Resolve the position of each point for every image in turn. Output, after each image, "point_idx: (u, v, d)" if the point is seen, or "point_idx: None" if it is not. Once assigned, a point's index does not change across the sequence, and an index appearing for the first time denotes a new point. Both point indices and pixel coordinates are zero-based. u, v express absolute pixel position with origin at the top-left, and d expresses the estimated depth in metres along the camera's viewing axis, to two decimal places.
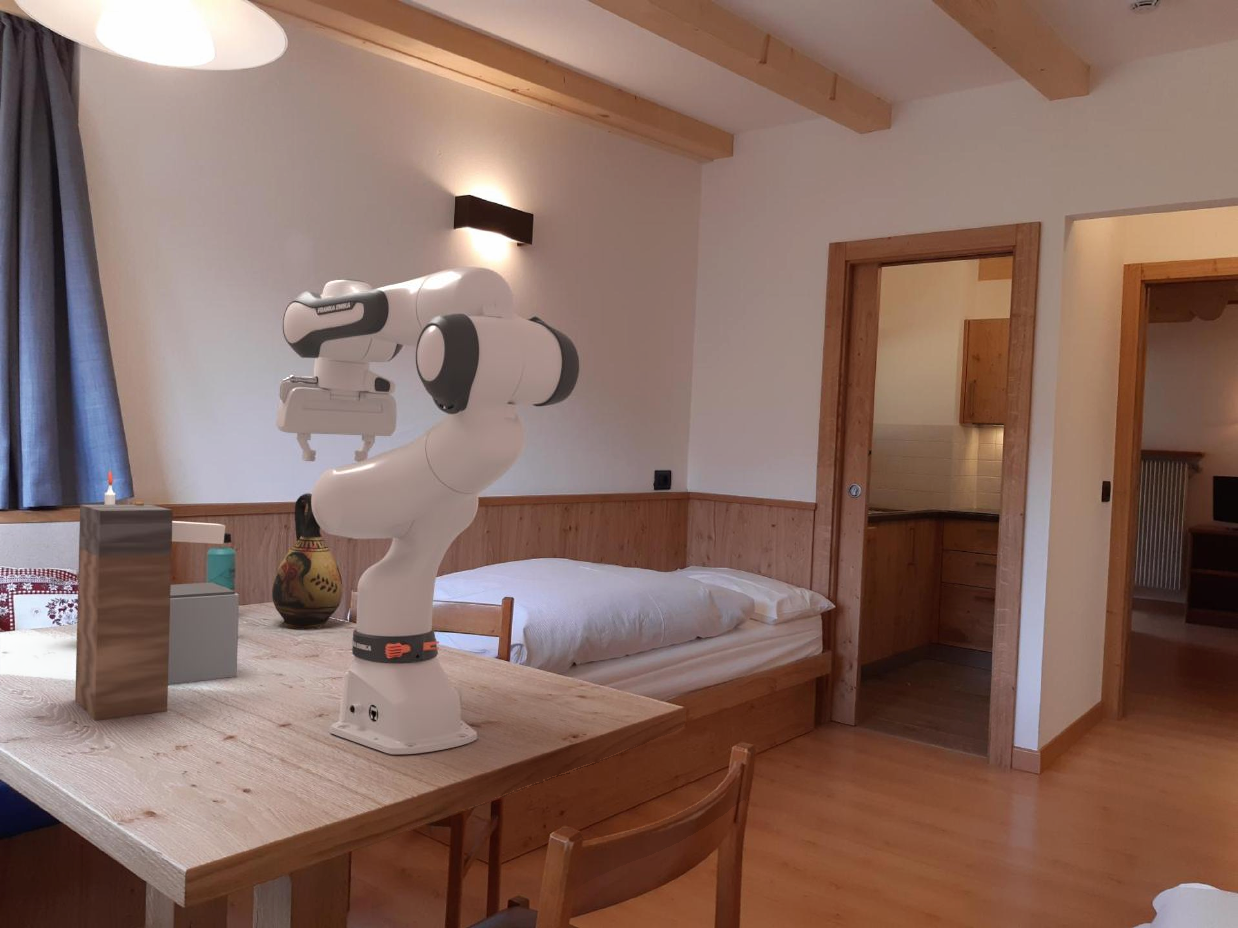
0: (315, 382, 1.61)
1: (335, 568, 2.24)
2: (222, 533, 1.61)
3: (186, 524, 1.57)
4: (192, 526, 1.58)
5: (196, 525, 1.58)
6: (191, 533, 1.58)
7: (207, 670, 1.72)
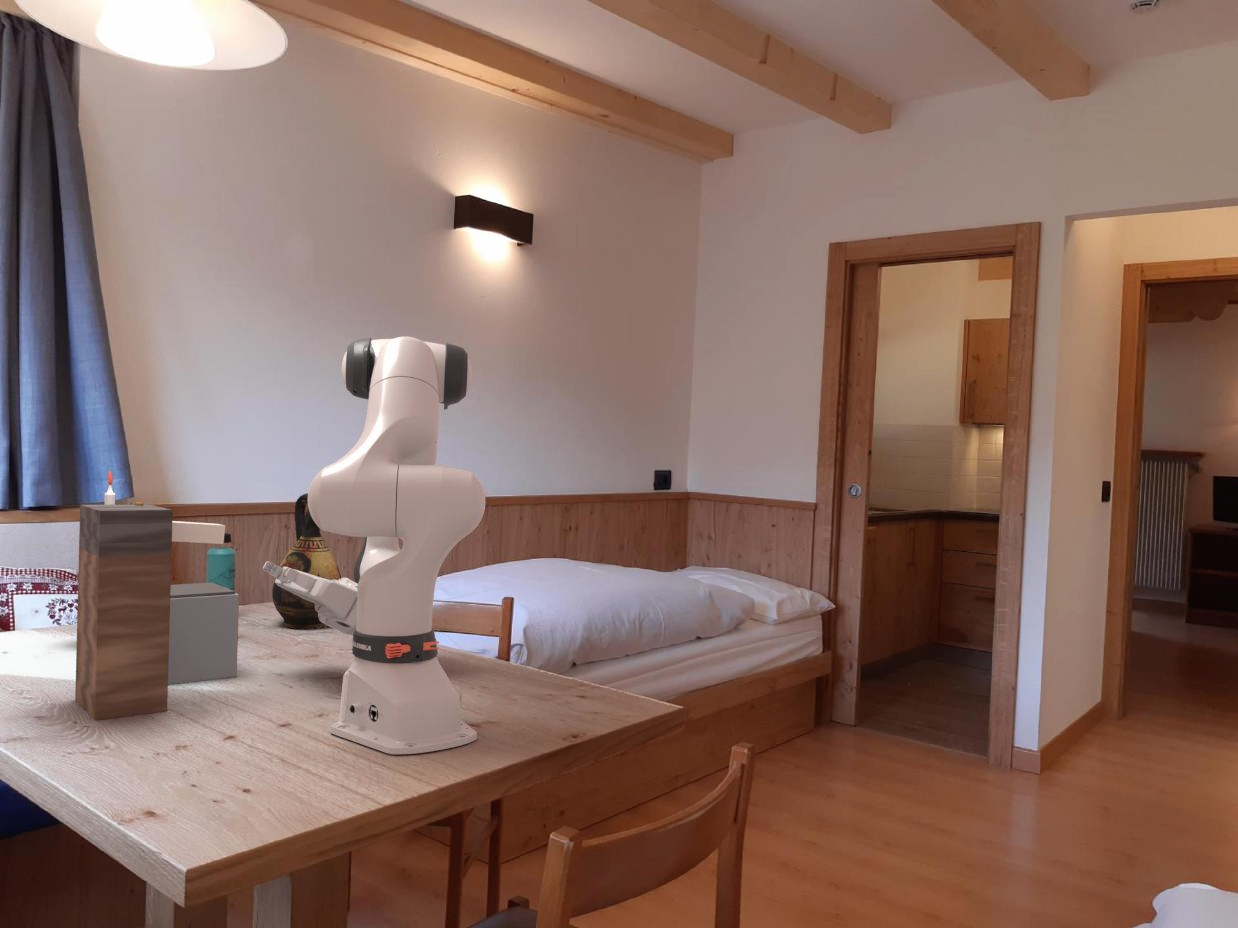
0: None
1: (335, 568, 2.24)
2: (222, 533, 1.61)
3: (186, 524, 1.57)
4: (192, 526, 1.58)
5: (196, 525, 1.58)
6: (191, 533, 1.58)
7: (207, 670, 1.72)
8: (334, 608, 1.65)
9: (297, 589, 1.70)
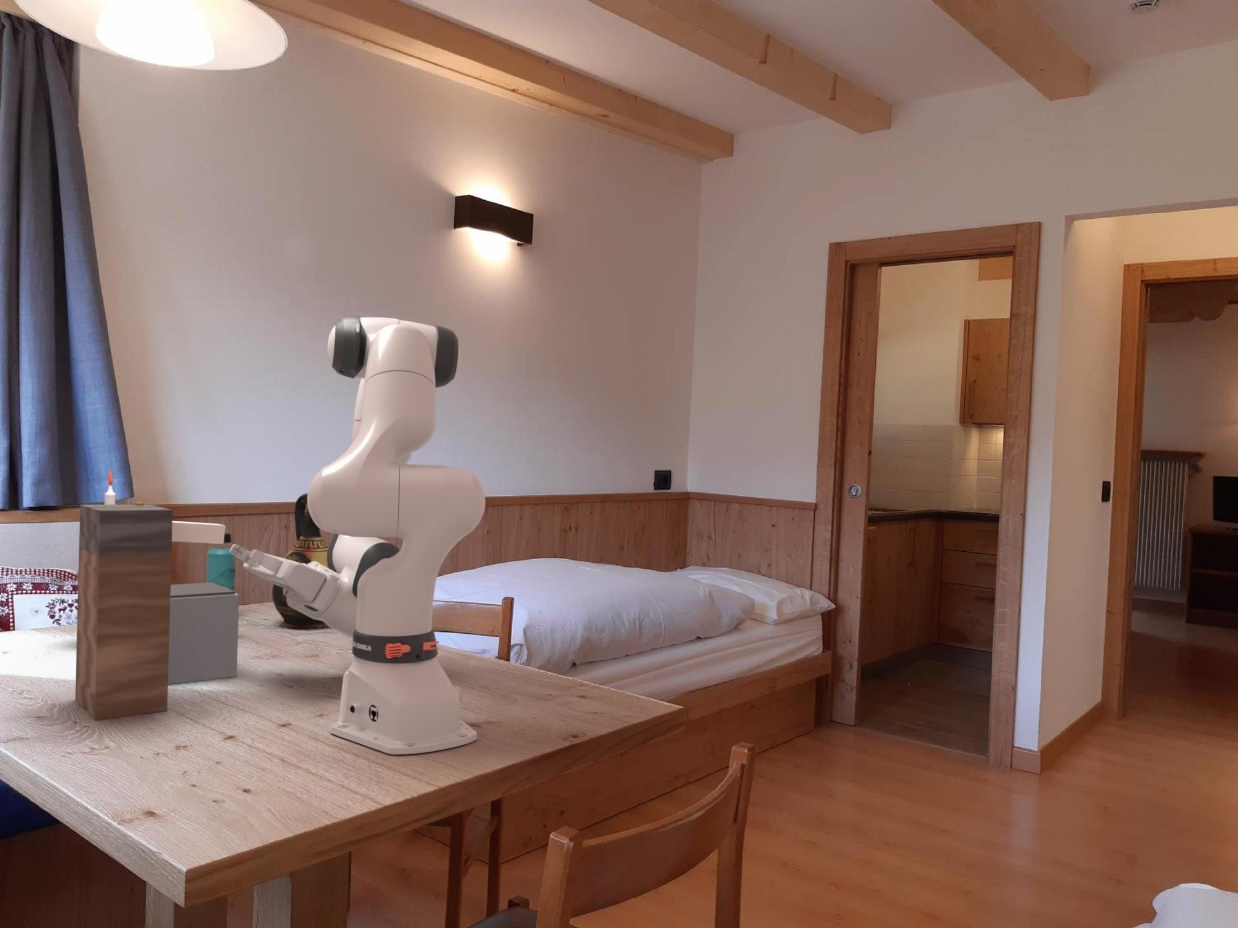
0: None
1: None
2: (222, 533, 1.61)
3: (186, 524, 1.57)
4: (192, 526, 1.58)
5: (196, 525, 1.58)
6: (191, 533, 1.58)
7: (207, 670, 1.72)
8: (300, 591, 1.61)
9: (264, 572, 1.66)
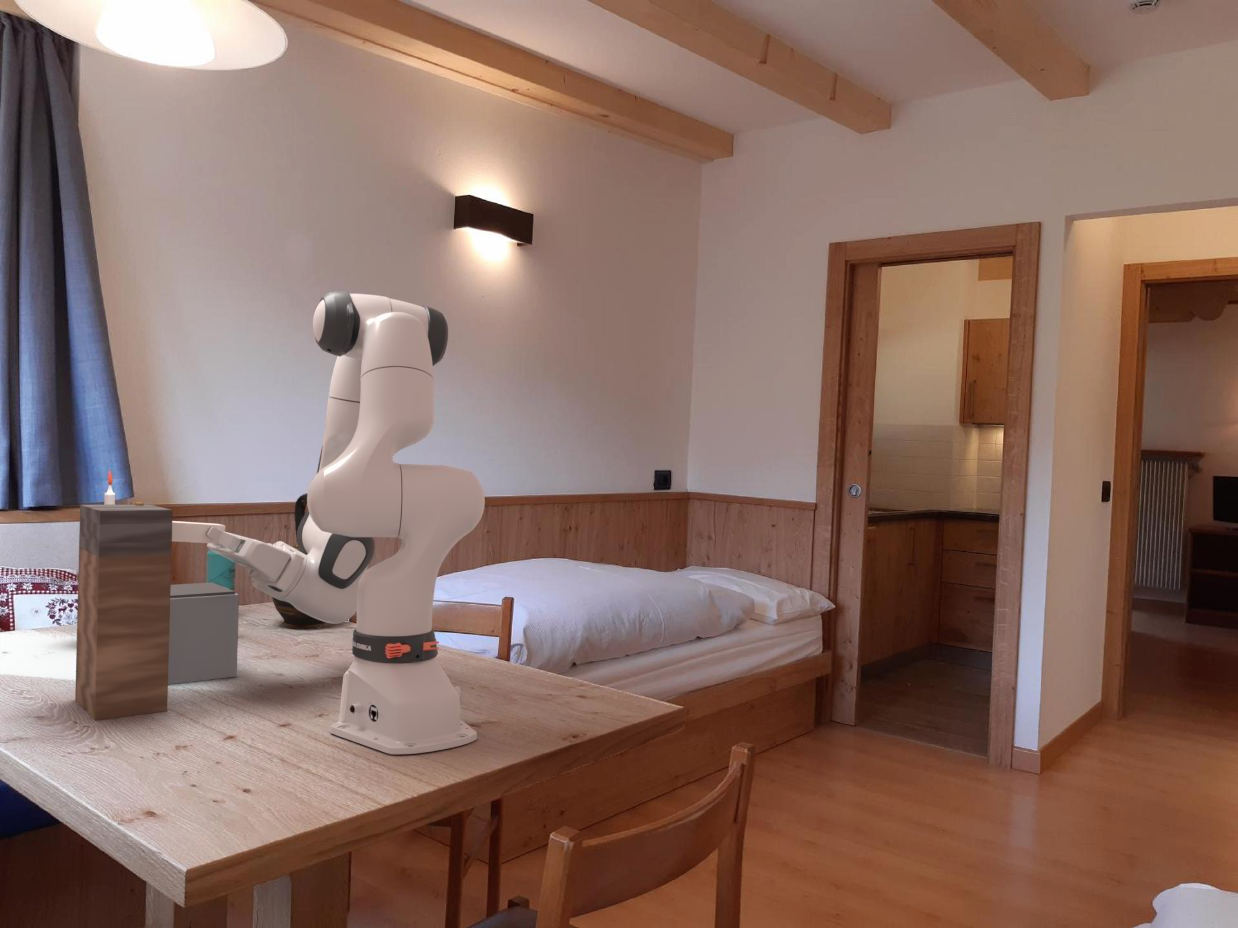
0: None
1: None
2: None
3: (186, 524, 1.57)
4: (192, 526, 1.58)
5: (196, 525, 1.58)
6: (191, 533, 1.58)
7: (207, 670, 1.72)
8: (263, 570, 1.57)
9: (227, 551, 1.62)
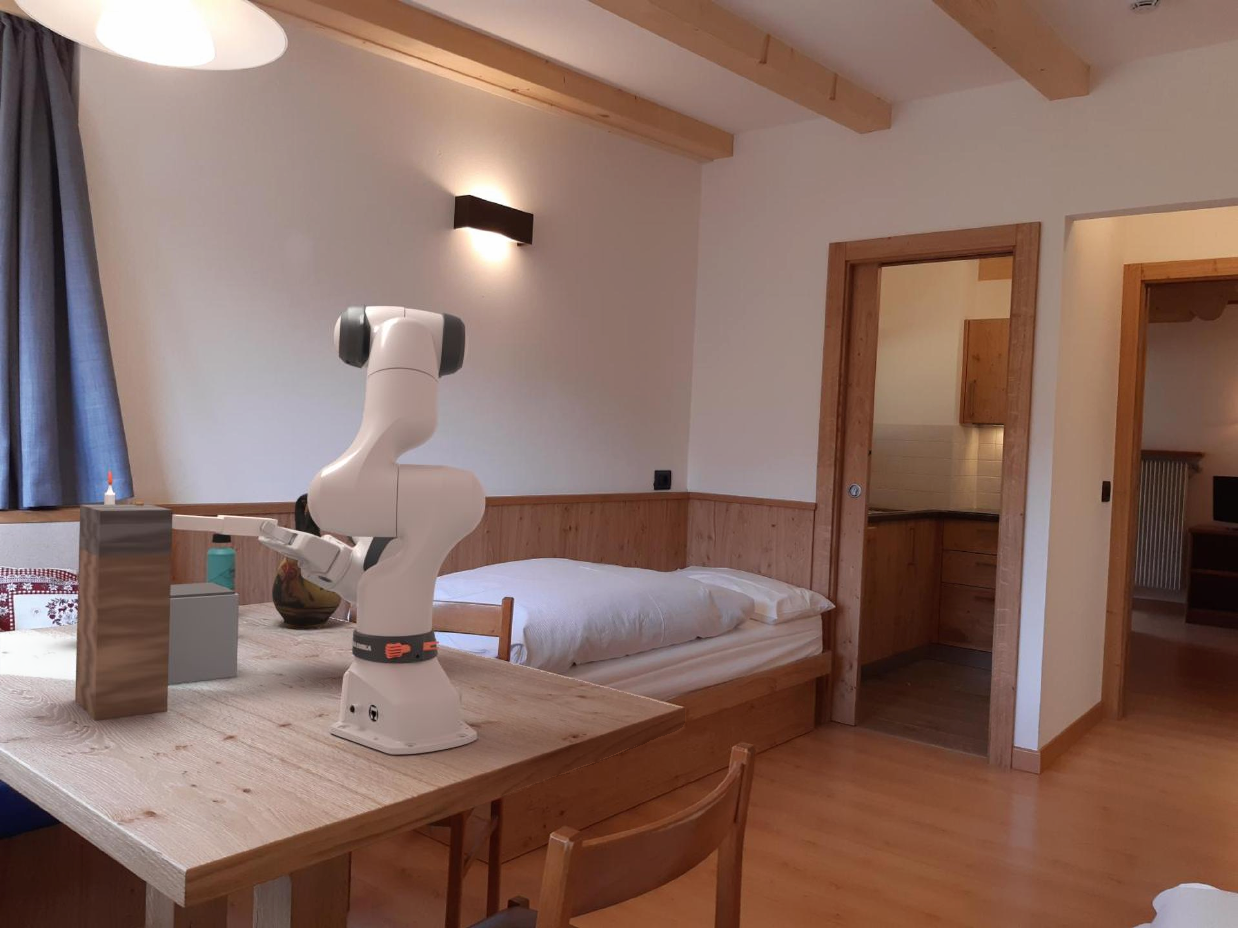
0: None
1: None
2: None
3: (242, 518, 1.67)
4: (247, 520, 1.68)
5: (251, 519, 1.68)
6: (246, 527, 1.67)
7: (207, 670, 1.72)
8: (315, 562, 1.67)
9: (279, 544, 1.71)
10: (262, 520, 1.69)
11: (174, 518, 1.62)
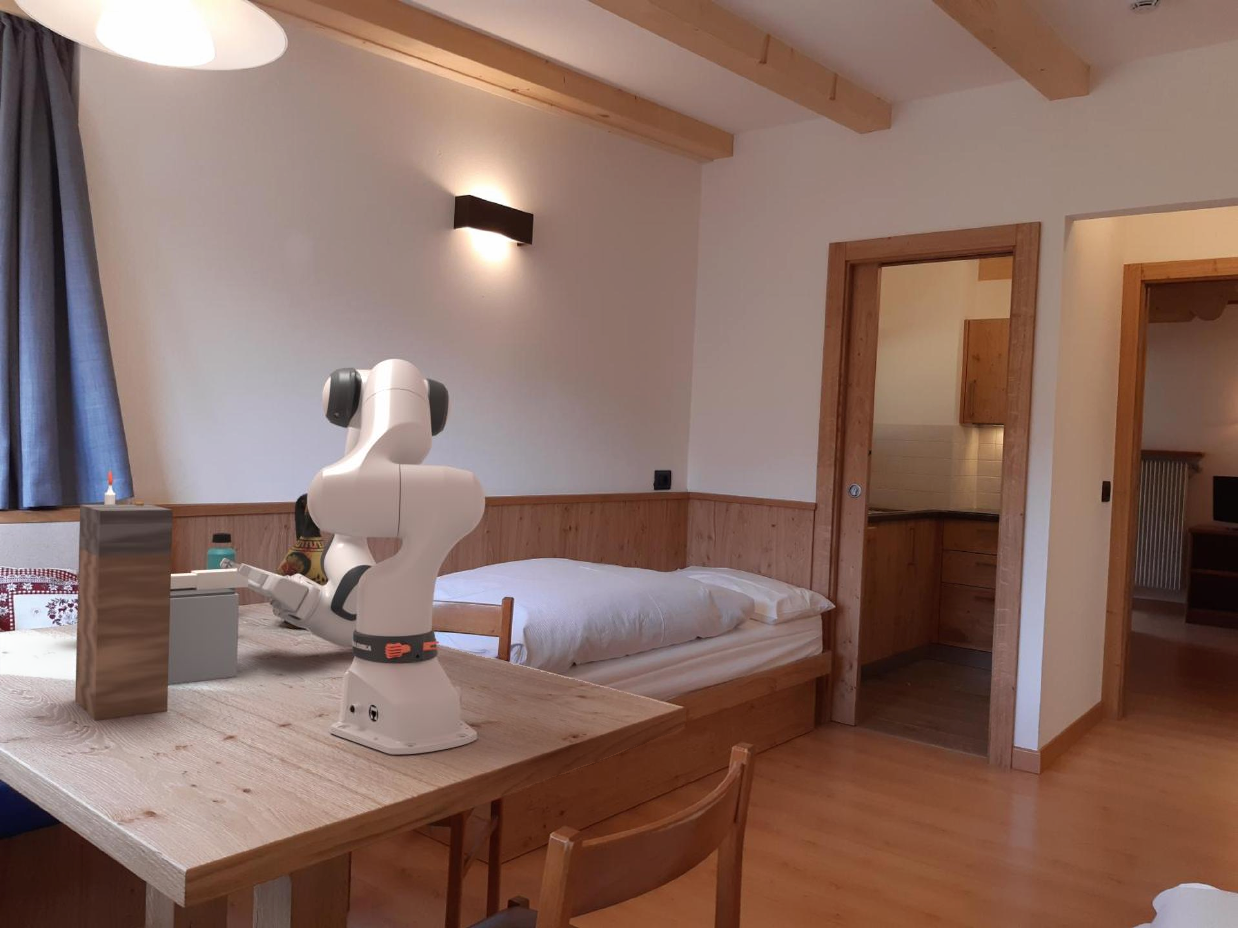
0: None
1: None
2: (246, 577, 1.81)
3: (214, 573, 1.77)
4: (219, 574, 1.78)
5: (223, 573, 1.78)
6: (219, 580, 1.78)
7: (207, 670, 1.72)
8: (284, 601, 1.77)
9: (251, 584, 1.82)
10: (234, 572, 1.79)
11: None
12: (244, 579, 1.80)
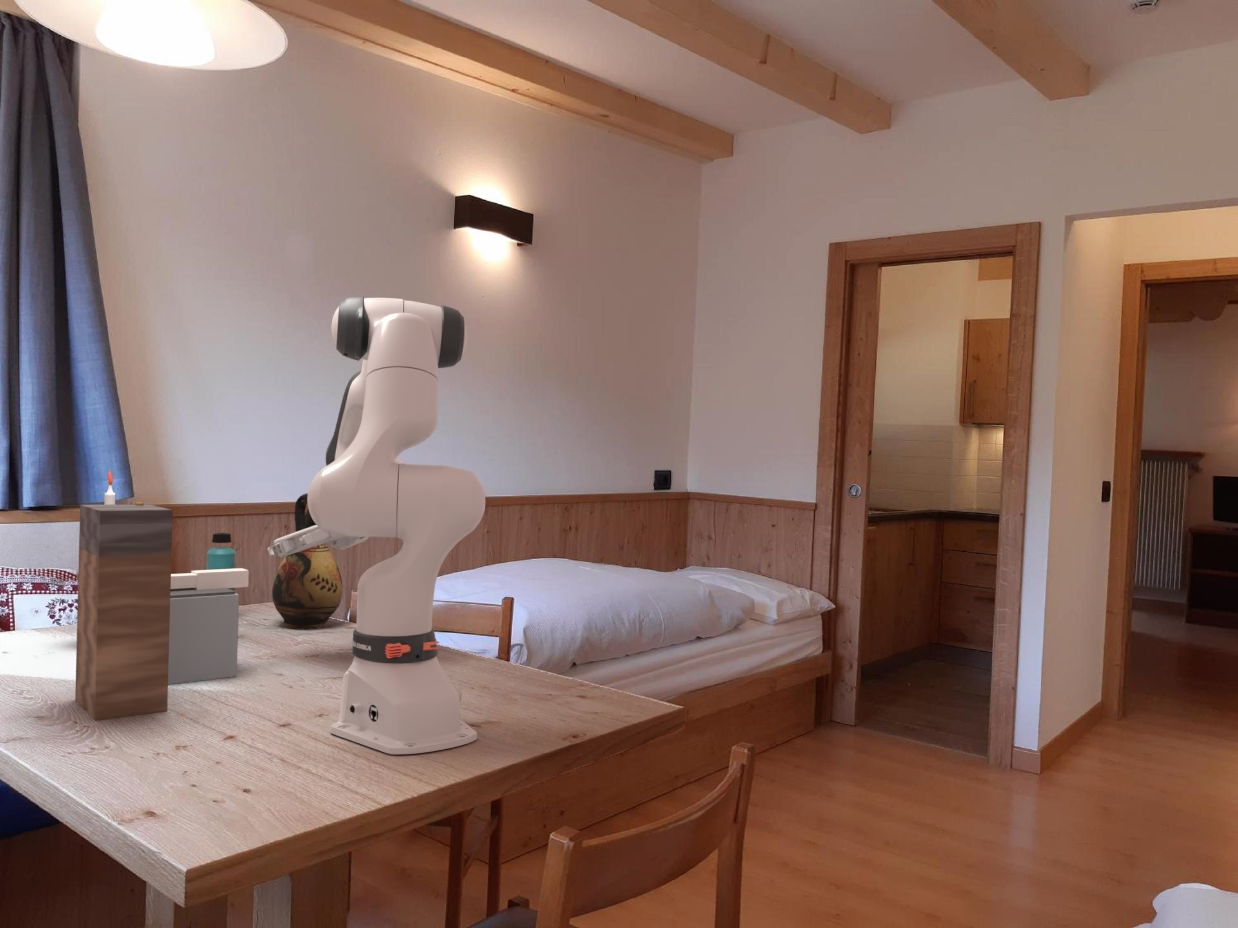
0: None
1: (335, 568, 2.24)
2: (246, 577, 1.81)
3: (214, 573, 1.77)
4: (219, 574, 1.78)
5: (223, 573, 1.78)
6: (219, 580, 1.78)
7: (207, 670, 1.72)
8: None
9: (314, 544, 1.83)
10: (234, 572, 1.79)
11: None
12: (244, 579, 1.80)
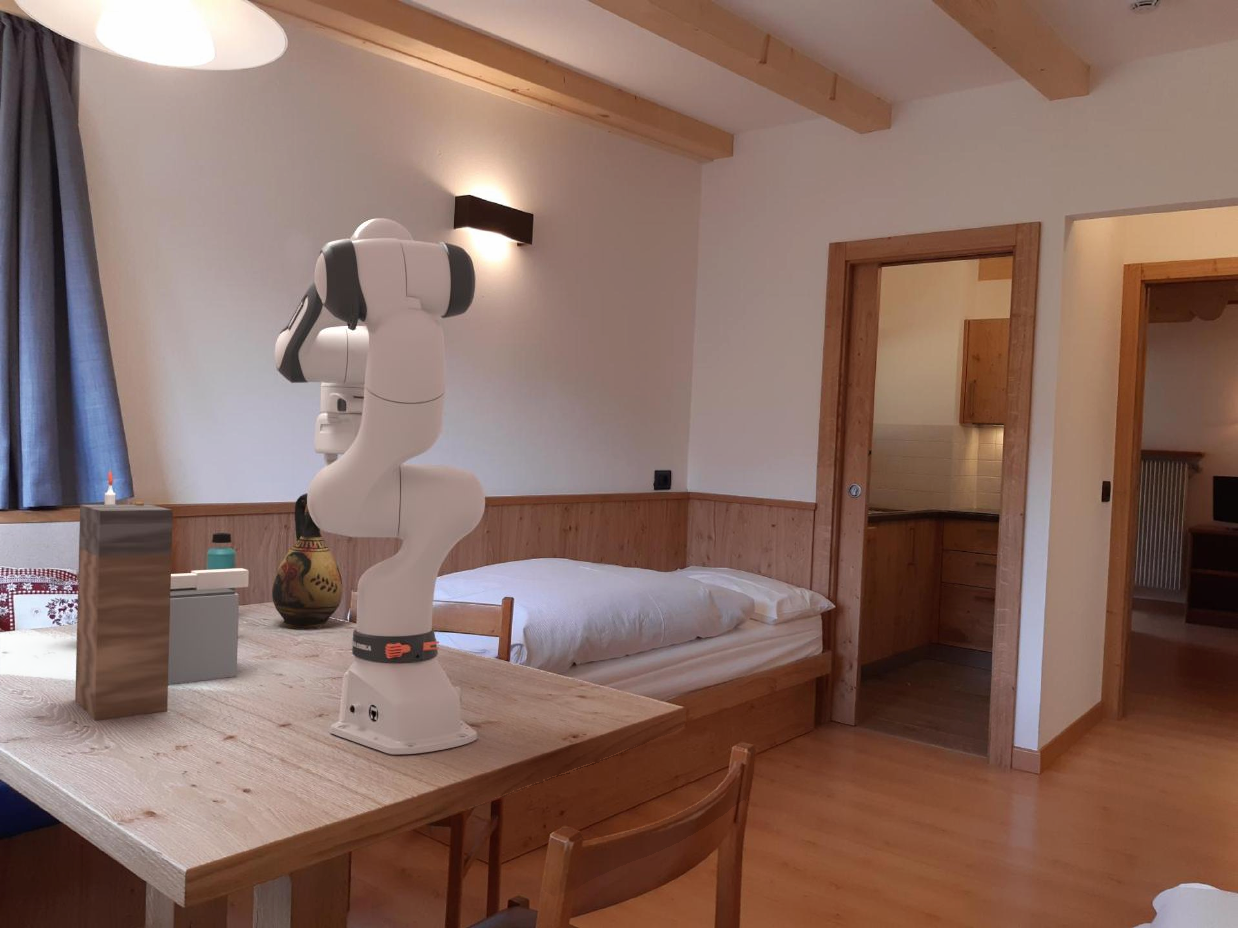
0: None
1: (335, 568, 2.24)
2: (246, 577, 1.81)
3: (214, 573, 1.77)
4: (219, 574, 1.78)
5: (223, 573, 1.78)
6: (219, 580, 1.78)
7: (207, 670, 1.72)
8: None
9: None
10: (234, 572, 1.79)
11: None
12: (244, 579, 1.80)
